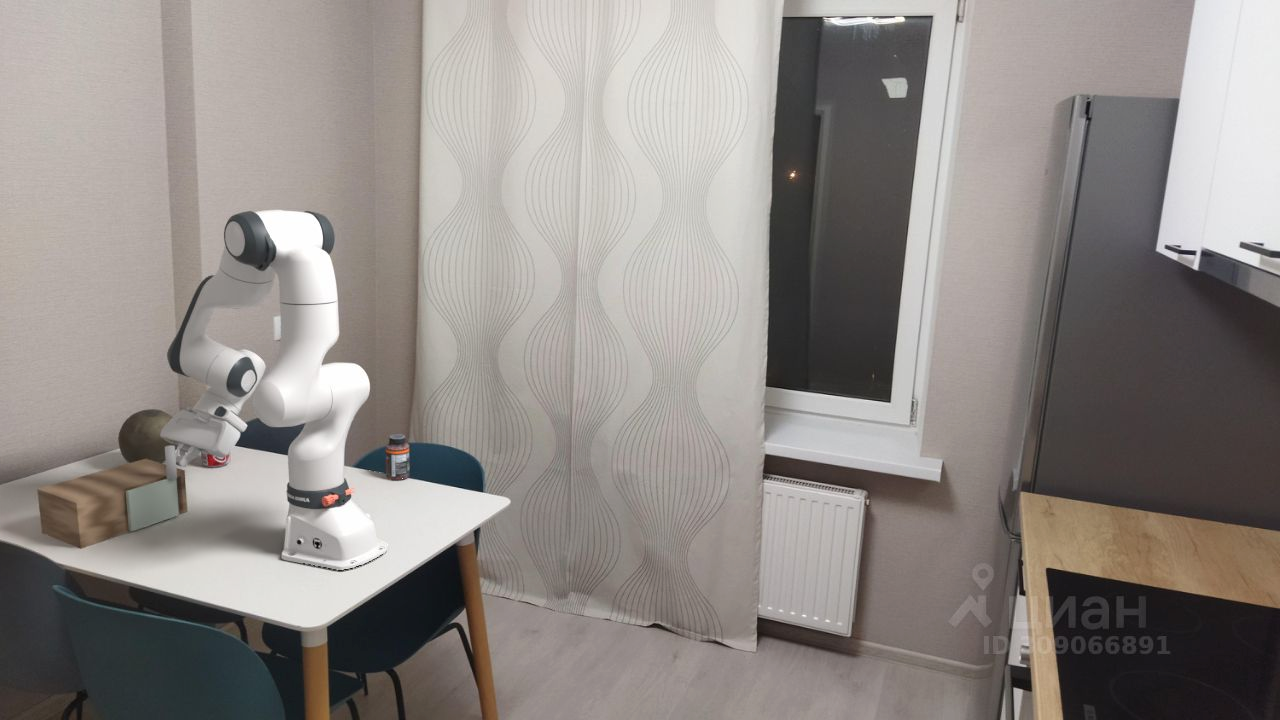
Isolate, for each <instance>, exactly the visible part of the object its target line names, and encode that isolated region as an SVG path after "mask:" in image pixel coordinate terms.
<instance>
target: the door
mask: <svg viewBox="0 0 1280 720" xmlns="http://www.w3.org/2000/svg"><path fill="white" fill-rule="evenodd" d="M165 458H166V460H165V465H166V472H167V479H164V480H161V481H158V482H154V483H151V484H148V485H144V486H141V487H138V488H135V489H131V490H128V491H126V502H127V514H128V526H129V531H130V532H134V531H138V530H141V529H143V528H146V527H149V526H152V525H154V524H157V523H161V522H163V521H167V520H168V519H172V518H174V517H178V516H180V514H179V509H178V495H177V480H176V479H177V469H176V468H177V465H176V451H175V446H173V445H170V446H166V447H165Z"/></svg>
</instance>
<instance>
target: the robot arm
mask: <svg viewBox="0 0 1280 720" xmlns="http://www.w3.org/2000/svg"><path fill="white" fill-rule="evenodd" d="M332 225H333V224H332V223H331V221H330V220H329V218H327V216H325V215H324V214H321V213H320V212H315V211H309V210H304V211H299V210H298V211H296V210H283V209H265V210H258V211H252V210H247V211H243V212H239V213H236V214H234V215H233V214H232V216H230V217H229V218H228V220H227V221H226V224H225V226H224V231H223V241H224V248H223V250H222V255H221V258H220V263H219V266H218V269H217V271H216V273H215V274H213V275H212V274H211V275H208V276H207V277H205V278H204V279H202V281H201V282H199V284H198V287H197V288H196V290H195V292H194V294H193V296H192V298H191V301H190V303H189V306H188V308H187V310H186V312H185V314H184V316H183V317H184V318H183V320H182V323H181V325H180V326H179V330H178V331H177V333H176V336H175V337H174V339H173V340H172V342H171V343H170V346H169V347H168V350H167V352H166V358H167V362H168V364H169V367H170V369H171V370H172V372H174V373H176V374H178V375H182V376H184V377H187V378H191V379H193V380H196V382H197V381H198V382H199V383H202V384H204V385H206V386H209V388H208V389H206V390H204V392H203V394H202V395H201V396H200V399H199V400H198V401H197V402H196V404H195V405H194V406H193V407H192V406H191V407H190V406H188V407H186V408H184V409H181V410H180V411H178V412H176V414H174V415H173V416H172V417H173V418H172V419H171V420H170V421H169V422H168V423H167V424H166V426H165V427H164V428H163V429H162V431H161V434H160V436H161V437H162V438H163V439H164V440H166V441H167V442H169V443H172V444H175V445H178V447H177V449H176V451H175V455H176V466H178V467H179V466H180V467H182V468H186V467H187V466H188V464H189V463H190V462H191V461H193V460H195V459H196V458H197V457H198V456H199V455H201V452H203V453H206V454H210V455H213V456H217V457H220V458H223V457H225V456H227V455H228V454H229V453H230V454H231V451H232V450H233V449H234V447H235V446H236V444H238V443H237V442H238V441H239V439H240V438H241V433H243V432H245V431H246V430H247V427H248V424H247V423H246V422H245V421H244V420H242V418H240V417H239V414H240V412H241V410H242V408H243V405H244V404H245V402H247V400H249V399H250V398H251V397H252V406H253V410H254V412H255V414H256V416H257V417H258V419H259V421H260V422H262V423H263V424H265V426H268V427H271V428H284V427H285V428H286V427H296V426H299V425H303V424H304V426H303V429H302V430H301V432H300V433H299V434H298V436H296V437H295V438H294V440H293V441H292V442H291V443H290V445H289V447H288V450H287V451H288V452H287V464H288V468H287V469H288V483H287V484H286V497H287V498H286V499H287V500H286V501H287V502H288V503H289V505H288V511H287V515H286V522H285V533H284V543H283V546H282V549H283V550H282V552H281V560H283V561H288V562H294V563H299V564H303V563H305V564H304V565H308V564H311V565H310V566H313V565H315V566H314V567H318V566H321V567H320V568H323V567H327V568H326V569H328V568H332V569H331V570H333V569H338V570H342V569H348V568H352V567H355V566H358V565H361V564H363V563H365V562H368V561H370V560H372V559H374V558H375V557H377V556H379V555H381V554H382V553H383V552H385V551H386V550H387V548H388V546H389V543H388V542H386V541H385V540H382V539H380V538H379V537H378V536H377V529H376V524H375V522H374V521H373V519H371V515H370V514H369V513H368V512H365V511H363V509H362V508H361V507H360V506H359V505H358V504H357V503H356V501H354V500H353V499H352V494H353V493H355V490H354V489H355V487H351V488H350V487H349V483H348V482H347V478H345V450H346V447H345V446H346V441H347V437H348V434H349V431H350V429H351V425H352V423H353V420H354V418H355V417H356V415H357V413H358V411H359V410H360V409H361V407H362V405H364V404H365V403H366V401H367V400H368V399H369V396H370V391H371V384H370V383H371V382H370V378H369V376H368V374H367V372H366V370H364V368H362V367H361V366H360V365H359V364H357V363H354V362H329V363H325V364H322V363H323V360H324V358H325V357H326V354H327V352H328V351H329V350H330V349H331V348H332V347H333V346H335V344H336V343H337V342H338V340H339V336H340V318H339V317H340V316H339V299H338V298H339V296H338V285H337V280H336V279H337V278H336V274H335V269H334V265H333V261H332V259H331V256H330V254H331V253H332V252H333V249H334V245H335V243H336V242H335V239H336V235H335V230H334V227H333V226H332ZM276 274H277V277H278V283H279V285H278V286H279V312H280V340H279V345H278V349H277V354H276V355H275V358H274V361H273V363H272V365H271V367H270V369H269V371H268V372H267V374H266V375H265V377H264V378H263V376H264V374H265V371H266V367H267V366H266V363H265V361H264V360H263V359H262V357H260V356H259V355H258V354H256V353H255V352H253V351H251V350H250V349H245V348H244V349H243V348H242V349H238V350H236V349H234V348H231V347H229V346H227V345H224V344H222V343H220V342H218V341H215V340H214V339H212V338H210V337H209V336H208V335H207V333H206V331H207V327H208V326H209V325H208V324H209V322H210V320H211V318H212V315H213V314H214V311H215V309H218V308H219V309H221V308H222V309H223V308H224V309H232V310H244V309H250V308H253V307H256V306H259V305H261V304H262V303H264V302H265V301H266V300H267V299H268V297H269V295H270V294H271V292H272V289H273V286H274V282H275V278H276ZM252 395H253V396H252ZM388 549H389V548H388ZM387 551H388V550H387ZM338 570H337V571H338Z"/></svg>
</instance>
